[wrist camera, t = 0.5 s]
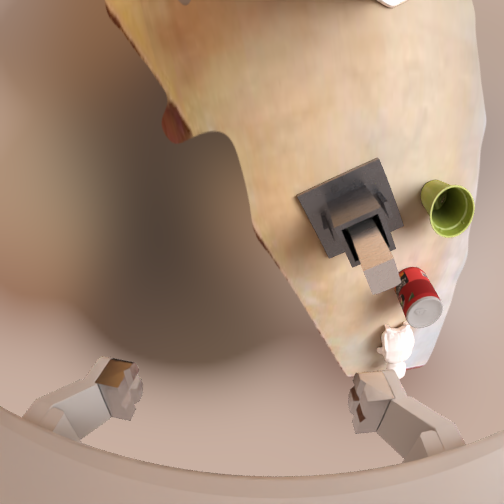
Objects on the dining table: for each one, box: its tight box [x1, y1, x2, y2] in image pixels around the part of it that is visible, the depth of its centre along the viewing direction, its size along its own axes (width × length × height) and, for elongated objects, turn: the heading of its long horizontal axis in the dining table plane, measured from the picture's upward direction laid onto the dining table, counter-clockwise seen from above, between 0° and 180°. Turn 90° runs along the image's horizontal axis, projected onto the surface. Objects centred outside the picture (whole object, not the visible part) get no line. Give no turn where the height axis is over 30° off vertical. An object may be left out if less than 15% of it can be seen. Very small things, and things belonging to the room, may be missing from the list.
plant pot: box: [421, 180, 475, 238], centre depth 44 cm, size 9×9×9 cm
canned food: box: [394, 267, 443, 328], centre depth 53 cm, size 8×8×11 cm
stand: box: [297, 158, 404, 268], centre depth 47 cm, size 16×14×13 cm
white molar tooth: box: [377, 321, 414, 379], centre depth 64 cm, size 8×8×15 cm
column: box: [347, 217, 401, 295], centre depth 42 cm, size 4×5×20 cm
